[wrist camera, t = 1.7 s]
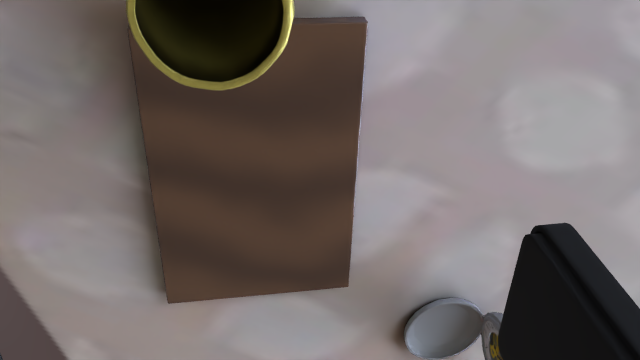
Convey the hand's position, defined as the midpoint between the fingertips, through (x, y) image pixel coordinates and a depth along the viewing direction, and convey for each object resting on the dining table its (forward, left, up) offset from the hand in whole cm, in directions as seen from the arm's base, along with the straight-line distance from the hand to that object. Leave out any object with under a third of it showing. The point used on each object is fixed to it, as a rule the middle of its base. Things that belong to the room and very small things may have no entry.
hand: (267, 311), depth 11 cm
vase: (-1, -1, -26) cm, 26 cm away
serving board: (+14, +1, -26) cm, 29 cm away
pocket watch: (+30, +17, -26) cm, 43 cm away
